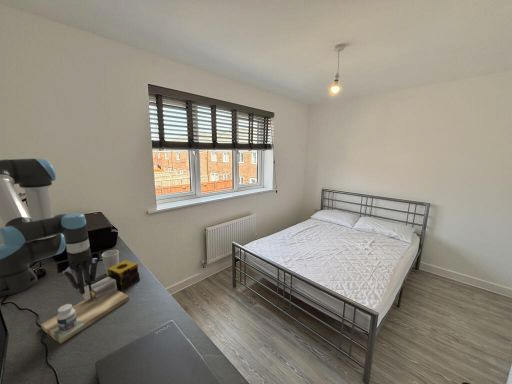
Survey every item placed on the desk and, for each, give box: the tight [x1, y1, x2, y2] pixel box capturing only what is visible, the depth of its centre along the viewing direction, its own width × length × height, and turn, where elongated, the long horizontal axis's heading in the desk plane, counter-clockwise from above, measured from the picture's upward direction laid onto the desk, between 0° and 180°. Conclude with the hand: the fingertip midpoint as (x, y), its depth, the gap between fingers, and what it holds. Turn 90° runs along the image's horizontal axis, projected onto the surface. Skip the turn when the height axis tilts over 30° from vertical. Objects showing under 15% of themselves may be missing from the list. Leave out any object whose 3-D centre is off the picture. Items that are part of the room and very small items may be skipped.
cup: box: [101, 249, 120, 276], centre depth 120 cm, size 8×8×12 cm
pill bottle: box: [56, 303, 77, 333], centre depth 80 cm, size 5×5×9 cm
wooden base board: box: [40, 276, 130, 345], centre depth 91 cm, size 16×26×8 cm, turn 154°
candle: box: [107, 259, 141, 291], centre depth 111 cm, size 10×10×10 cm
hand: (87, 298), depth 94 cm, fingers closed
